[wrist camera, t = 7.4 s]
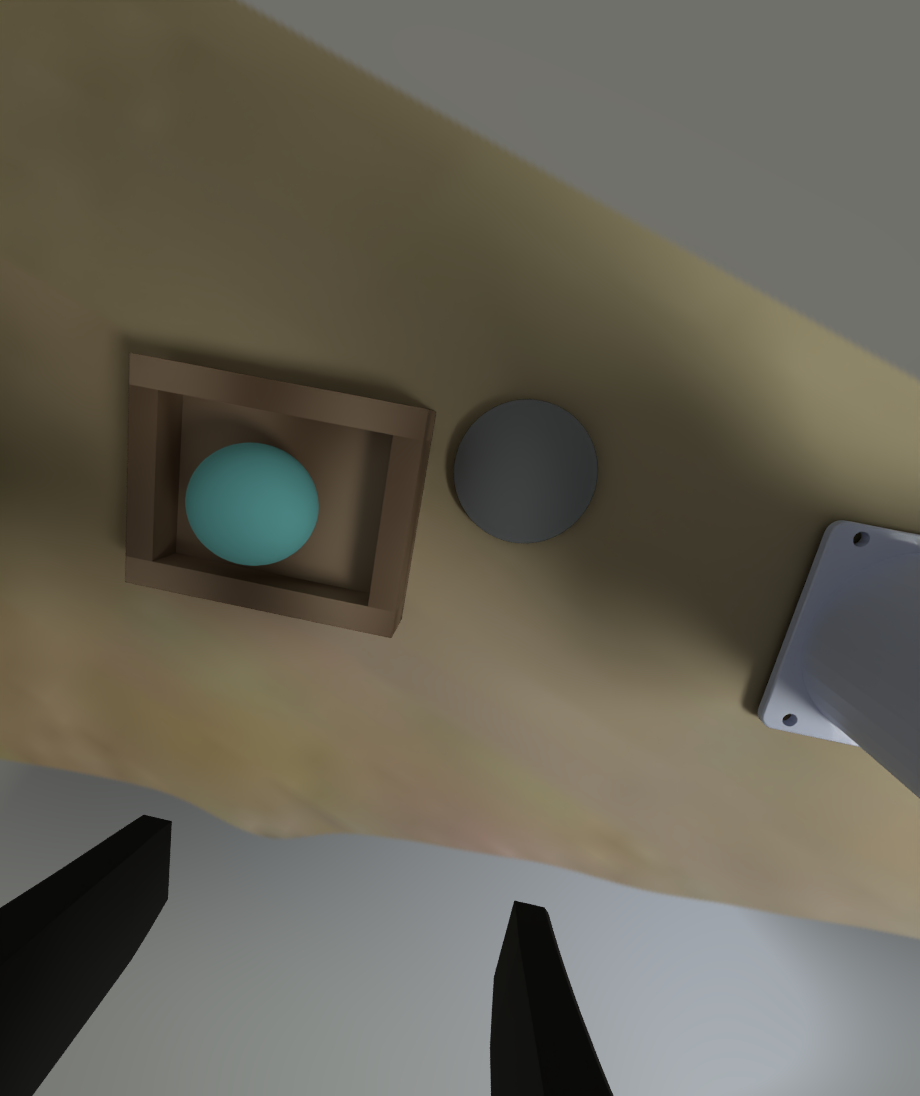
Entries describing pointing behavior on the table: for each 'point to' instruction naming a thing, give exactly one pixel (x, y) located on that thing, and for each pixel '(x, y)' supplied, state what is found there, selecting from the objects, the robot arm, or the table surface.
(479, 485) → the coaster
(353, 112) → the table surface
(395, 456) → the tray
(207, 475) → the ball
